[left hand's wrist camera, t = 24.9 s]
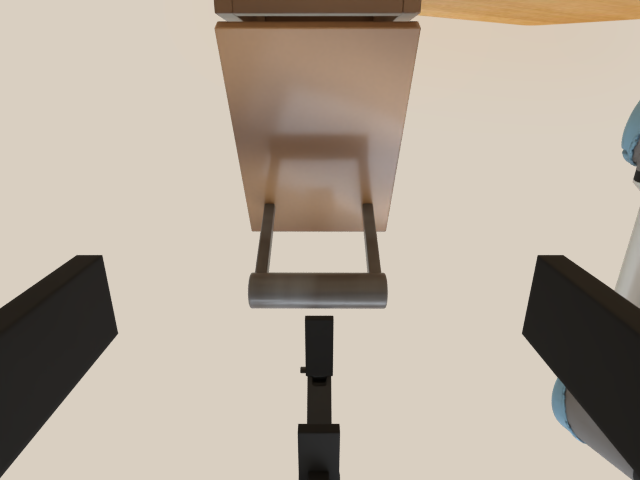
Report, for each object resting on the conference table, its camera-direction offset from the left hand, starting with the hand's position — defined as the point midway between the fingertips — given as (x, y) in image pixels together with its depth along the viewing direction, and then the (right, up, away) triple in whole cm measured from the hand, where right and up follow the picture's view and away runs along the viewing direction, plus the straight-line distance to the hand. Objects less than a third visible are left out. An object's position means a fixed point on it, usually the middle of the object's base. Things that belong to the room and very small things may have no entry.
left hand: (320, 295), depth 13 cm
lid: (0, +8, +12) cm, 15 cm away
